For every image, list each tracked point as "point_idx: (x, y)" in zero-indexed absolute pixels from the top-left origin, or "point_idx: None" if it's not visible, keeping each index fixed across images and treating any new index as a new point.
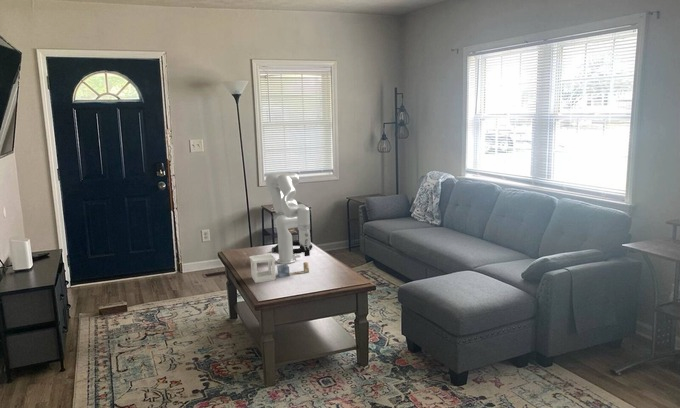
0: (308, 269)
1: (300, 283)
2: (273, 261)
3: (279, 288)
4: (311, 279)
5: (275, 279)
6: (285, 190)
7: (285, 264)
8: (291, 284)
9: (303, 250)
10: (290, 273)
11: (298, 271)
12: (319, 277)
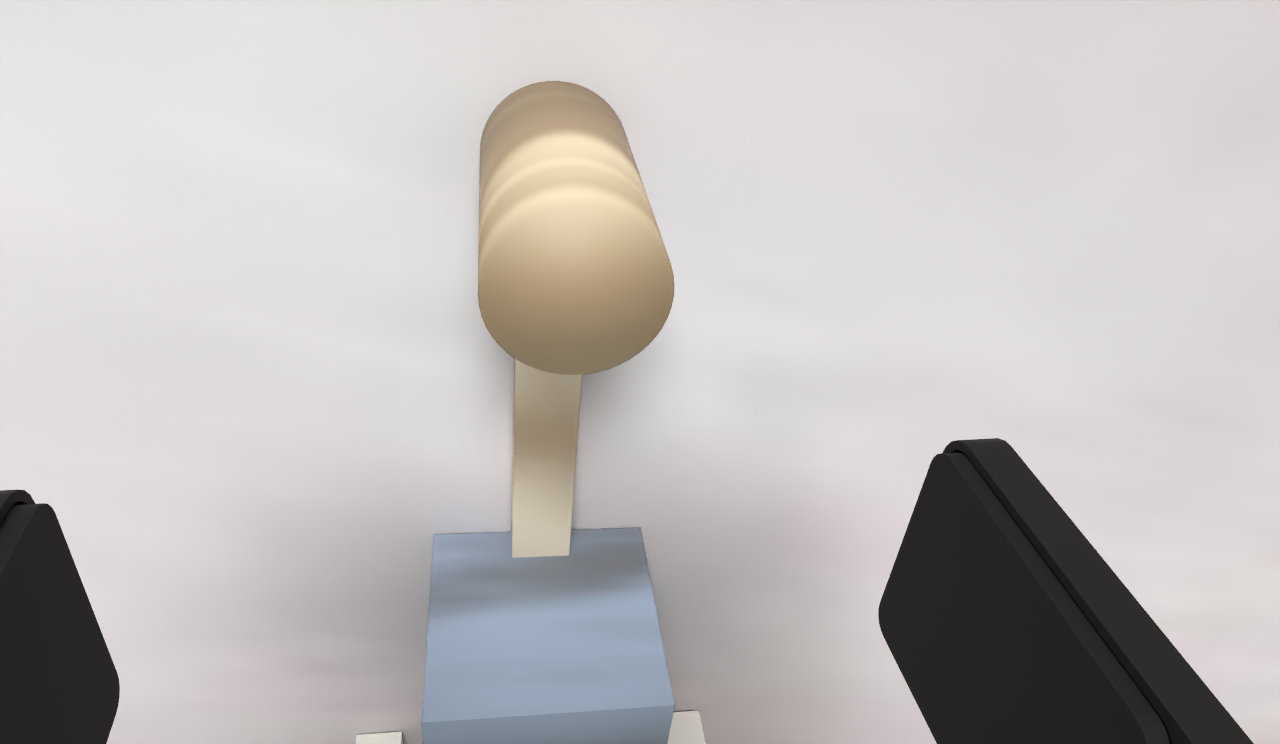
0: (622, 141)
1: (1163, 462)
2: None
3: None
4: (1152, 231)
5: (698, 717)
6: None
7: (433, 741)
8: None
9: (52, 625)
10: (570, 525)
11: (519, 364)
12: (1198, 4)
